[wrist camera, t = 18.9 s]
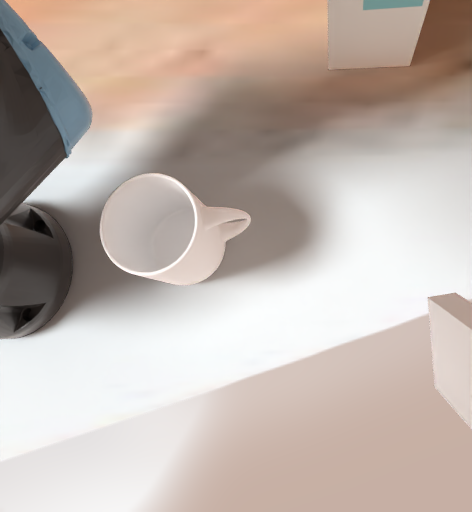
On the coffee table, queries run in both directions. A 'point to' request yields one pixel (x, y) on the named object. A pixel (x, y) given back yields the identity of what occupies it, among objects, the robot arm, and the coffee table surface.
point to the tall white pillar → (372, 35)
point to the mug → (166, 230)
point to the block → (390, 4)
